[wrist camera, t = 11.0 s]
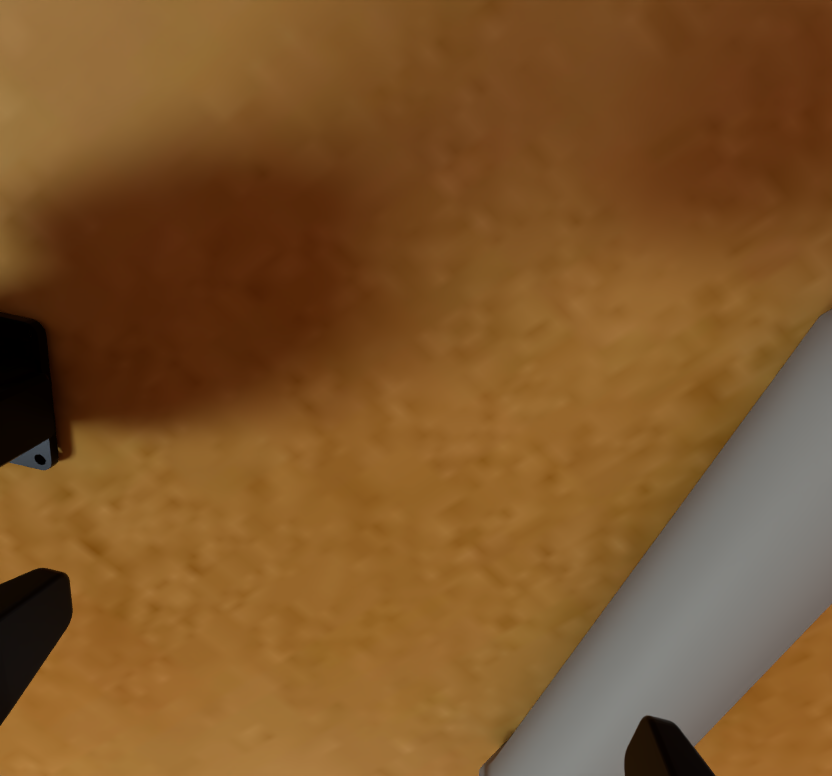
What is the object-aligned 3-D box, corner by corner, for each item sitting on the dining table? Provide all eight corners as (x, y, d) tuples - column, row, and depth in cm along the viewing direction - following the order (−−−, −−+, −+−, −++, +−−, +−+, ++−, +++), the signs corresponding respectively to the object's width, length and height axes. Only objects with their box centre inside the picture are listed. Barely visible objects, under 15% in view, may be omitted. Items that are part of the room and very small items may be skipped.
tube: (887, 254, 13) (458, 825, 22) (1163, 363, 11) (576, 924, 21) (827, 256, 17) (495, 725, 27) (1015, 332, 16) (593, 800, 25)
